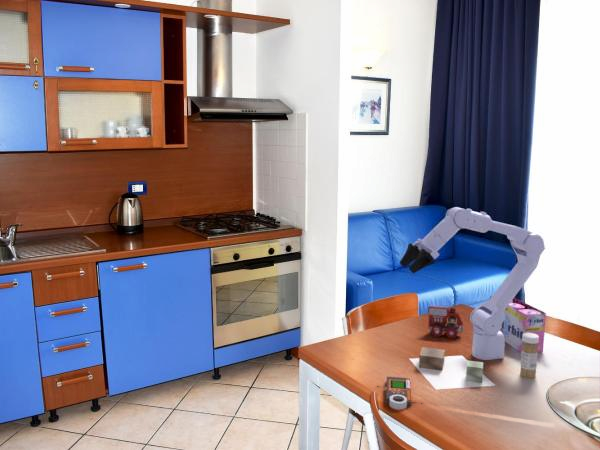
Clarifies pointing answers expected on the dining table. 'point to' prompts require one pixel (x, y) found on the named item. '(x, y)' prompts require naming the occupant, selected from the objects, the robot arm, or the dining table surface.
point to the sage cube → (474, 371)
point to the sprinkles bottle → (529, 355)
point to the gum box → (522, 323)
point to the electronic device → (398, 392)
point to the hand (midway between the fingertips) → (406, 268)
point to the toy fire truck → (444, 321)
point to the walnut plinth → (431, 358)
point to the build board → (450, 374)
